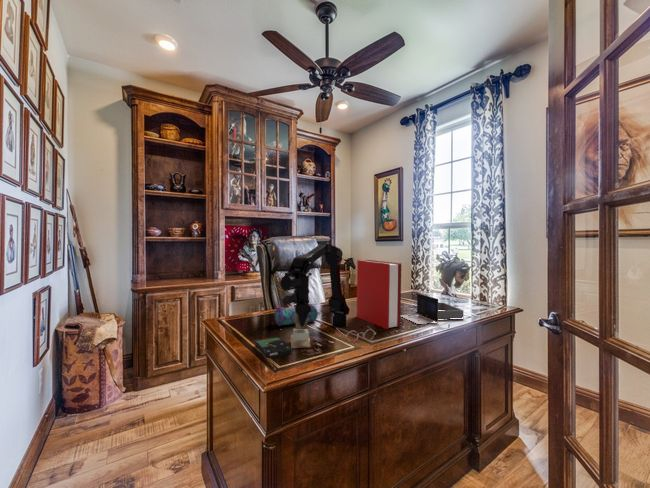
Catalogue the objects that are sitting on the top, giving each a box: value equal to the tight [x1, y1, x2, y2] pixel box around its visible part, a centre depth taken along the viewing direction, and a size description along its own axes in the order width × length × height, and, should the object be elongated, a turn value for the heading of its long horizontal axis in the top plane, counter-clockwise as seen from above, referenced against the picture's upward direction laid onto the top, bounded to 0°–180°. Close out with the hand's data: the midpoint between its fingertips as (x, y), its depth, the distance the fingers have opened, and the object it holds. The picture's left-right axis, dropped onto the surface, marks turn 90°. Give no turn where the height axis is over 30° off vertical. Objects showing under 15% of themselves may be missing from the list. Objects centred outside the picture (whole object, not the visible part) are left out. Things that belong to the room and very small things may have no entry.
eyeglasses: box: [333, 323, 377, 342], centre depth 137 cm, size 16×19×5 cm
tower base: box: [290, 334, 311, 349], centre depth 123 cm, size 8×8×3 cm
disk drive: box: [255, 336, 293, 359], centre depth 116 cm, size 10×3×15 cm
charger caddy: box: [438, 302, 464, 319], centre depth 173 cm, size 18×21×5 cm
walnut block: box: [295, 313, 308, 329], centre depth 123 cm, size 4×4×6 cm
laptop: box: [400, 292, 439, 325], centre depth 163 cm, size 18×12×13 cm
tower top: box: [292, 328, 310, 341], centre depth 123 cm, size 6×6×3 cm
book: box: [356, 259, 402, 330], centre depth 158 cm, size 27×8×32 cm, turn 30°
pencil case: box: [274, 303, 319, 326], centre depth 153 cm, size 21×9×10 cm, turn 121°
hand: (301, 324), depth 123 cm, fingers closed on walnut block, 4 cm apart
